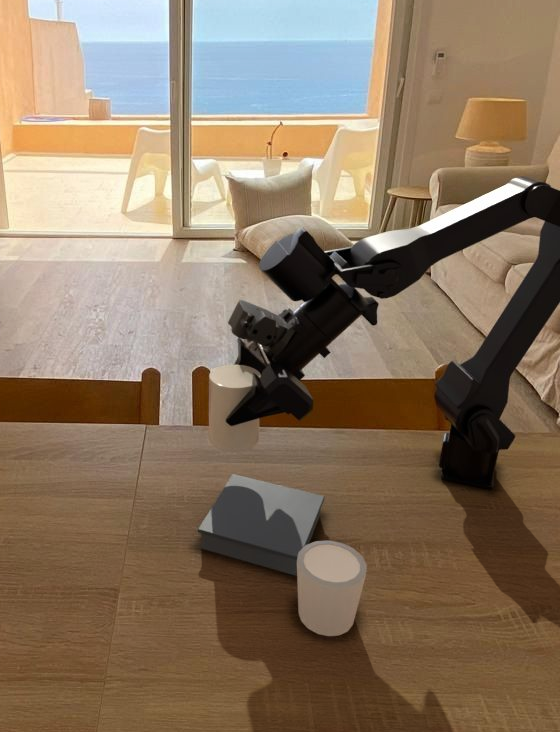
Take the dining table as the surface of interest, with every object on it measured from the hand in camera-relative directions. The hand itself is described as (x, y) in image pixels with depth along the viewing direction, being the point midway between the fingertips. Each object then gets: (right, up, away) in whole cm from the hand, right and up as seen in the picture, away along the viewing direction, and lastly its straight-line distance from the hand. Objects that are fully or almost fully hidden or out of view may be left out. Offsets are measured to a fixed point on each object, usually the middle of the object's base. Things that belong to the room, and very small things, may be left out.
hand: (223, 409), depth 87 cm
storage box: (+4, -15, -3) cm, 16 cm away
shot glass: (+10, -20, -15) cm, 27 cm away
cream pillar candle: (+1, -4, +2) cm, 5 cm away
